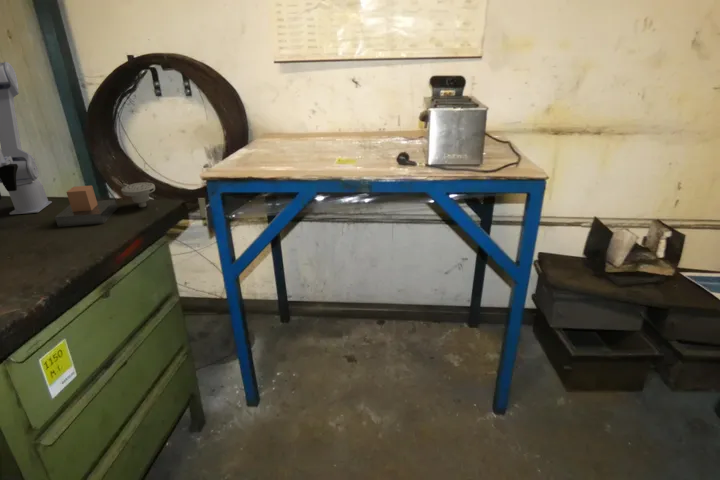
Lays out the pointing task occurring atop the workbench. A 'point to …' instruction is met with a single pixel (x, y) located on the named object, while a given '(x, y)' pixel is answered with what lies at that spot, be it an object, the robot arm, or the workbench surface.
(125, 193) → the showerhead
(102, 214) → the steel base
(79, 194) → the terracotta block
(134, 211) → the workbench surface
